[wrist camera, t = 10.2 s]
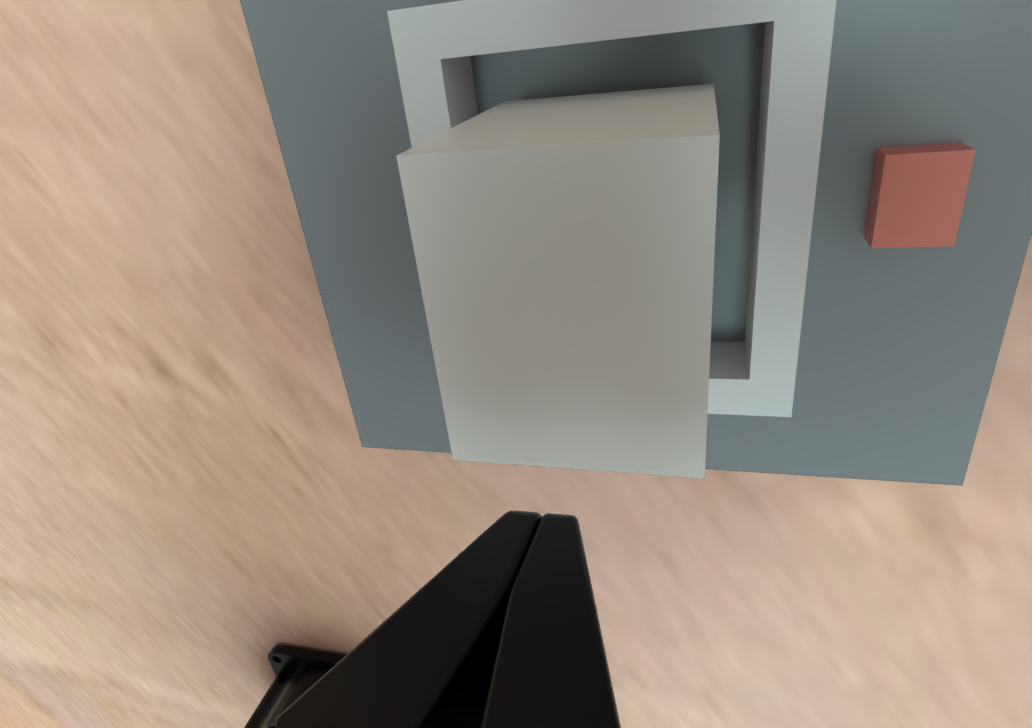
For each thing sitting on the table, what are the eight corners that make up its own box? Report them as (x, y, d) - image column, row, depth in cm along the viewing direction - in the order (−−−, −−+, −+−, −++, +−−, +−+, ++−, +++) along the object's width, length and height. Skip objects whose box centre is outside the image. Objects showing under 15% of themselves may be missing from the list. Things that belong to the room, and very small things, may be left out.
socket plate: (380, 422, 23) (333, 483, 20) (245, -116, 16) (140, -142, 13) (944, 452, 18) (990, 538, 15) (1133, -305, 11) (1292, -418, 8)
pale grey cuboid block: (536, 308, 18) (452, 459, 12) (516, 95, 15) (396, 155, 9) (704, 308, 17) (704, 478, 11) (713, 78, 14) (719, 134, 8)
